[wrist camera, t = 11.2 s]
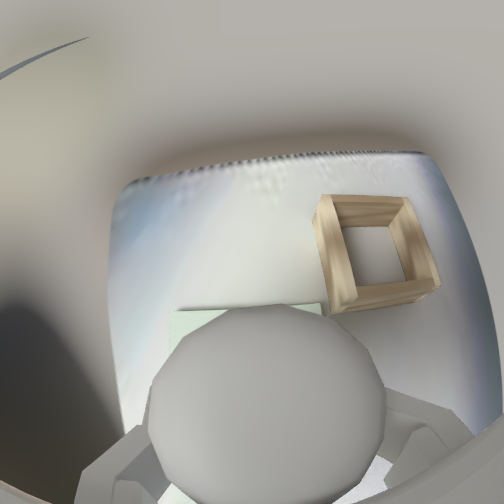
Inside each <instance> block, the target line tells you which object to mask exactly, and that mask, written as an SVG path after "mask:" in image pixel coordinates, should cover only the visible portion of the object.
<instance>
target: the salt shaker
mask: <svg viewBox="0 0 504 504" xmlns="http://www.w3.org/2000/svg"><path fill="white" fill-rule="evenodd" d="M386 396H387V392H386V389H385V387H384V385H383V383H382V380H381V378H380V376H379V374H378V371H377V369H376V367H375V365H374V363H373V361H372V358H371V356H370V354H369V352H368V350H367V349H366V348H365V347H364V346H363V345H362V344H361V343H359V342H358V341H357V340H356V339H355V338H354V337H353V336H351V335H350V334H349V333H348V332H347V331H346V330H344V329H343V328H342V327H341V326H340V325H339V324H338V323H336V322H335V321H334V320H333V319H332V318H331V317H327V316H323V315H320V314H316V313H312V312H309V311H305V310H301V309H298V308H294V307H291V306H287V305H284V304H276V305H268V306H259V307H250V308H240V309H230V310H227V311H226V312H224V313H222V314H221V315H219V316H218V317H216V318H214V319H213V320H211V321H209V322H208V323H206V324H204V325H203V326H201V327H199V328H198V329H196V330H194V331H192V332H191V333H189V334H187V335H186V336H184V337H183V338H182V339H181V341H180V342H179V343H178V345H177V346H176V348H175V349H174V350H173V352H172V353H171V355H170V356H169V358H168V359H167V360H166V362H165V363H164V365H163V366H162V368H161V369H160V370H159V372H158V373H157V375H156V376H155V377H154V379H153V382H152V391H151V400H150V410H149V421H148V433H149V436H150V439H151V441H152V444H153V447H154V449H155V452H156V454H157V457H158V459H159V461H160V464H161V466H162V468H163V471H164V473H165V475H166V477H167V479H168V480H169V481H170V482H171V483H173V484H174V485H175V486H176V487H177V488H178V489H180V490H181V491H182V492H183V493H185V494H186V495H187V496H188V497H190V498H191V499H192V500H194V501H195V502H196V503H198V504H332V503H333V502H335V501H336V500H338V499H339V498H340V497H342V496H343V495H345V494H346V493H347V492H349V491H350V490H351V489H353V488H354V487H355V486H357V485H358V484H359V483H360V482H361V480H362V479H363V477H364V475H365V473H366V472H367V470H368V468H369V466H370V465H371V463H372V461H373V459H374V457H375V455H376V454H377V452H378V450H379V448H380V446H381V444H382V442H383V440H384V430H385V417H386Z"/></svg>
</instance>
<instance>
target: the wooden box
mask: <svg viewBox="0 0 504 504" xmlns="http://www.w3.org/2000/svg"><path fill="white" fill-rule="evenodd" d="M312 223H313V227H314V231H315V235H316V240H317V244H318V249H319V253H320V258H321V263H322V267H323V272H324V277H325V282H326V287H327V292H328V297H329V303H330V308H331V314H339V313H347V312H355V311H362V310H369V309H376V308H383V307H389V306H395V305H401V304H407V303H413V302H418V301H420V300H421V299H423V298H424V297H426V296H427V295H429V294H430V293H431V292H433V291H434V290H436V289H437V288H438V287H440V286H441V285H442V284H441V281H440V278H439V275H438V272H437V269H436V266H435V263H434V260H433V257H432V255H431V252H430V249H429V246H428V244H427V241H426V239H425V236H424V234H423V231H422V229H421V226H420V224H419V222H418V219H417V217H416V215H415V212H414V210H413V208H412V206H411V204H410V201H409V199H408V198H405V197H388V196H365V195H326V194H322V196H321V198H320V201H319V204H318V206H317V209H316V212H315V214H314V217H313V220H312ZM363 226H389V229H390V232H391V235H392V237H393V240H394V243H395V246H396V249H397V252H398V255H399V258H400V261H401V264H402V267H403V271H404V274H405V277H406V281H404V282H395V283H387V284H378V285H369V286H359V287H356V285H355V281H354V277H353V273H352V269H351V265H350V261H349V257H348V253H347V249H346V246H345V242H344V238H343V235H342V231H341V228H340V227H363Z"/></svg>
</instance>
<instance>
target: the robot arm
mask: <svg viewBox="0 0 504 504" xmlns="http://www.w3.org/2000/svg"><path fill="white" fill-rule="evenodd" d="M385 389H386V392H387V396H386V417H385V430H384V440H383V442H382V444H381V446H380V448H379V450H378V452H377V455H379V456H380V457H382V458H384V459H385V460H387V461H389V462H391V463H393V465H392V467H391V468H390V470H389V471H388V473H387V474H386V476H385V478H384V482H385V484H386V486H387V487H388V489H387V490H385V491H383V492H381V493H378V494H376V495H373V496H371V497H369V498H366V499H363V500H361V501H358V502H355V503H353V504H504V413H503V414H502V415H501V416H500V417H499V418H498V419H497V420H495V421H494V422H493V423H492V424H491V425H490V426H488V427H487V428H486V429H485V430H484V431H482V432H481V433H480V434H478V435H477V436H476V437H475V436H474V435H473V434H472V432H471V431H470V430H469V429H468V428H467V427H466V426H465V425H464V423H463V422H462V421H461V420H460V419H459V418H458V417H457V416H456V415H455V414H454V413H453V411H452V410H449V409H446V408H443V407H440V406H437V405H434V404H431V403H428V402H425V401H422V400H419V399H416V398H413V397H410V396H407V395H405V394H402V393H399V392H396V391H394V390H391V389H388V388H385ZM151 391H152V386H151V387H150V389H149V394H148V398H147V403H146V408H145V412H144V417H143V422H142V425H136V426H135V427H134V428H133V429H132V430H131V431H130V432H128V433H127V434H126V435H125V436H124V437H123V438H122V439H120V440H119V441H118V442H117V443H116V444H115V445H113V446H112V447H111V448H110V449H109V450H107V451H106V452H105V453H104V454H103V455H102V456H100V457H99V458H98V459H97V460H96V461H94V462H93V463H92V464H91V465H90V466H88V467H87V468H86V469H85V470H83V471H82V474H81V478H80V482H79V485H78V489H77V493H76V497H75V501H74V504H158V503H157V501H158V500H159V499H160V497H161V496H162V495H163V493H164V492H165V491H166V489H167V488H168V487H169V485H170V484H171V482H170V481H169V480H168V479H167V477H166V475H165V473H164V471H163V468H162V466H161V464H160V461H159V459H158V457H157V454H156V452H155V449H154V447H153V444H152V441H151V439H150V436H149V433H148V421H149V410H150V400H151ZM0 504H51V503H48V502H45V501H43V500H41V499H38V498H36V497H33V496H31V495H29V494H26V493H24V492H22V491H20V490H18V489H16V488H14V487H12V486H10V485H8V484H6V483H4V482H2V481H0Z"/></svg>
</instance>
